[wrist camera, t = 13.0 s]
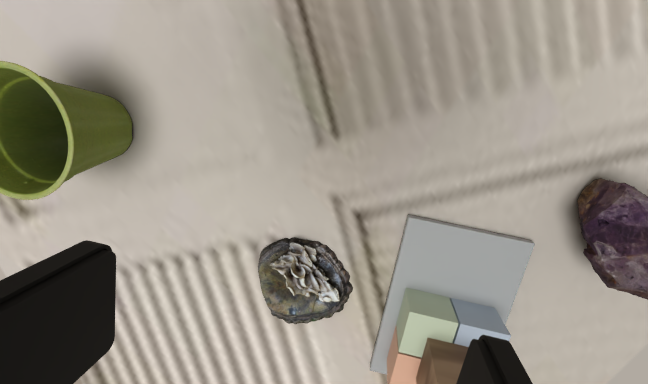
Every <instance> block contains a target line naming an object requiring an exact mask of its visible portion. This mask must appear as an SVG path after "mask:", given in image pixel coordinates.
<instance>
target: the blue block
mask: <svg viewBox="0 0 648 384" xmlns="http://www.w3.org/2000/svg"><path fill="white" fill-rule="evenodd" d="M450 301H451V304H452V307H453V309H454V312H455V315H456V318H457V320H458V323H459V324H458V327H457V330H456V333H455V336H454V339H453V342H452V343H453V344H458V345H462V346H466V347H469V345H470V342H471V341H472V339H477V340H478V339H479V337H480V336H481V335H487V336H491V337H496V338H500V339H504V340H507V341H509V340H510V337H511V335H510V333H509V331H508V330H507V328H506V326H505V324H504V323H503V321H502V319H501V317H500V316H499V314H498V312H497V310H496V309H495V308H493V307H489V306H484V305H480V304H476V303H471V302H467V301H463V300H458V299H454V298H451V299H450Z"/></svg>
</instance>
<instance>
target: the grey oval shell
mask: <svg viewBox="0 0 648 384" xmlns="http://www.w3.org/2000/svg"><path fill="white" fill-rule="evenodd" d="M258 272H259V278H260V284H261V289H262V293H263V296H264V298H265V301H266V303H267V305H268V307H269V309H270V310H271V314H272V315H273V316H277V317H278V318H279V319H283V320H285V321H286V322H287V323H294V324H297V323H309V322H311V321H316V320H320V319H322V318H324V317H325V318H330V317H332V316H333V314H334V313H335V312H340V311H341V310H343V307H344V303H346V302H347V300H348V298H349V294H350V293H351V292H352V290H353V287H352V284H351V283H350V282H349V279H350V275H349V273H348V272H347V271H346V270H345V269H344V267H343V264H342V263H341V262H340V261H339V260H338V259H337V257H336V255H335V253H334V252H333V251H332V250H331V249H330V248H329V247H328V246H327V245H323V244H321V243H320V242H318V241H310V240H303V239H298V238H291V239H288V238H284V239H281V240H278V241H277V242H274V243H272V244H270V245H269V246H267V247H265V248H264V249H263V251H262V252H261V254H260V259H259V266H258Z"/></svg>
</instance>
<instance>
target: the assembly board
mask: <svg viewBox="0 0 648 384" xmlns="http://www.w3.org/2000/svg"><path fill="white" fill-rule="evenodd" d="M534 245H535V244H534V243H533V242H532V241H531V240H527V239H522V238H518V237H513V236H508V235H503V234H499V233H494V232H489V231H484V230H480V229H475V228H470V227H465V226H461V225H456V224H451V223H446V222H442V221H437V220H432V219H427V218H423V217H418V216H413V215H409V214H408V217H407V220H406V224H405V228H404V232H403V236H402V240H401V244H400V248H399V252H398V256H397V260H396V264H395V268H394V272H393V276H392V280H391V284H390V288H389V291H388V295H387V299H386V303H385V307H384V311H383V315H382V319H381V323H380V327H379V331H378V335H377V339H376V343H375V347H374V351H373V355H372V358H371V362H370V370H371V371H375V372H379V373H382V374H386V375H387V356H388V353H389V349H390V345H391V341H392V338H393V334H394V330H395V326H396V323H397V319H398V315H399V312H400V308H401V304H402V300H403V297H404V293H405V289H406V288H411V289H415V290H419V291H424V292H428V293H432V294H437V295H441V296H445V297H449V298H450V299H451V298H454V299H458V300H463V301H467V302H471V303H476V304H480V305H484V306H489V307H493V308H495V309H496V310H497V312H498V314H499V316H500V317H501V319H502V321H503V323H504V324H506V321H507V319H508V316H509V313H510V310H511V308H512V305H513V302H514V299H515V297H516V294H517V291H518V288H519V286H520V283H521V280H522V278H523V275H524V272H525V269H526V267H527V264H528V261H529V258H530V256H531V253H532V250H533V247H534Z"/></svg>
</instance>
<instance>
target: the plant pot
mask: <svg viewBox="0 0 648 384" xmlns="http://www.w3.org/2000/svg"><path fill="white" fill-rule="evenodd" d="M131 141H132V121H131V118H130V116H129V114H128V112H127V111H126V109H125V108H124V106H123V105H122V104H121V103H119V102H118V101H117V100H115V99H114V98H112V97H109V96H106V95H103V94H99V93H95V92H91V91H87V90H84V89H80V88H76V87H72V86H68V85H64V84H60V83H56V82H53V81H51V80H49V79H47V78H44V77H41V76H38V75H37V74H36V73H34V72H32V71H31V70H29V69H27V68H25V67H23V66H20V65H18V64H15V63H10V62H5V61H0V193H1V194H3V195H6V196H9V197H12V198H16V199H21V200H33V199H39V198H42V197H45V196H47V195H49V194H51V193H53V192H54V191H55V190H57V189H58V188H59V187H60V186H61V185H62V184H63V182H65V181H67V180H69V179H70V178H72V177H73V176H74V175H76V174H78V173H81V172H83V171H85V170H87V169H90V168H92V167H94V166H96V165H99V164H101V163H103V162H106V161H108V160H110V159H113V158H115V157H117V156H119V155H121V154H123V153H124V152H125V151H126V150H127V149H128V147H129V146H130V144H131Z"/></svg>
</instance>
